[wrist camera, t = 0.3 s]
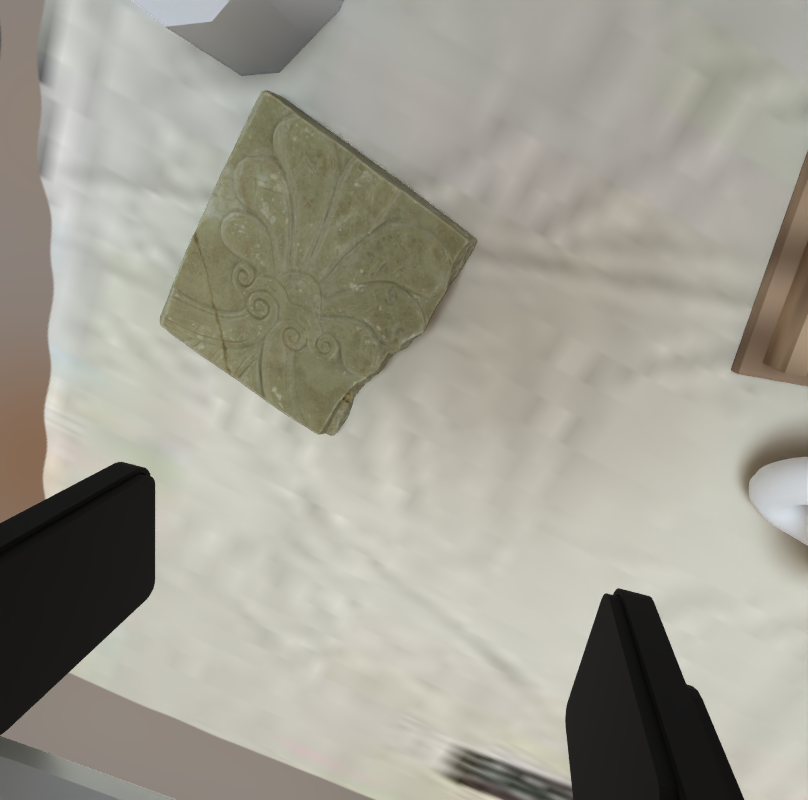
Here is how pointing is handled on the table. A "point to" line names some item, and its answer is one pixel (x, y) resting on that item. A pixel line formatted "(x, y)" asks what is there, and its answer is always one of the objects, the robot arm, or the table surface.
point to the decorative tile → (309, 267)
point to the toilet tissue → (245, 28)
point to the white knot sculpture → (783, 495)
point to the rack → (782, 303)
